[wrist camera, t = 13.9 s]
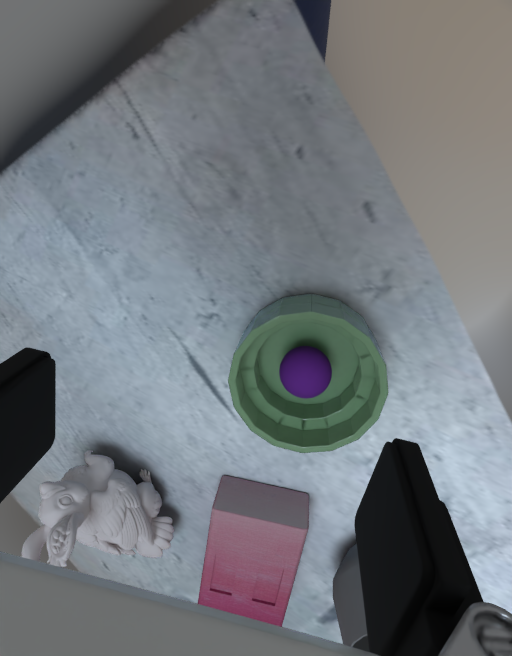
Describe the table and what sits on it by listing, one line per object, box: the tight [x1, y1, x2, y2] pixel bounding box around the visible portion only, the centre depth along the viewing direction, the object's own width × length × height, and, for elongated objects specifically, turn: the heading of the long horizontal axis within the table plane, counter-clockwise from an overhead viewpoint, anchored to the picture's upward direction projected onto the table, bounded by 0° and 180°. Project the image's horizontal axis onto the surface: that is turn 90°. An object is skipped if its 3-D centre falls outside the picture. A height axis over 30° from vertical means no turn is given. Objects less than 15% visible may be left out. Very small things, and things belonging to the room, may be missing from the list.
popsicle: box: [198, 475, 309, 627], centre depth 44 cm, size 9×5×20 cm
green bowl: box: [228, 294, 388, 453], centre depth 34 cm, size 12×12×6 cm
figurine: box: [22, 450, 174, 567], centre depth 39 cm, size 8×15×13 cm, turn 37°
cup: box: [333, 544, 369, 652], centre depth 39 cm, size 10×9×10 cm
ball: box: [279, 346, 332, 398], centre depth 34 cm, size 4×4×4 cm
